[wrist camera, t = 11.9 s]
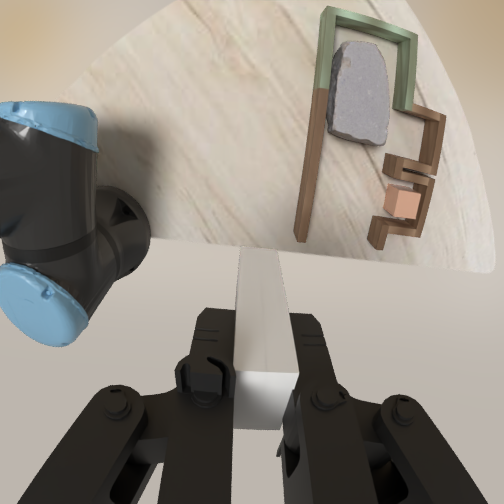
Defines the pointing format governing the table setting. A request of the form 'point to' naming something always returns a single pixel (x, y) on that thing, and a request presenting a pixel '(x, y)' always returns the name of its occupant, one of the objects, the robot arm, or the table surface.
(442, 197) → the table surface
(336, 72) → the decorative stone
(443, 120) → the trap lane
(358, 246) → the table surface
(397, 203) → the cube
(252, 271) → the robot arm
